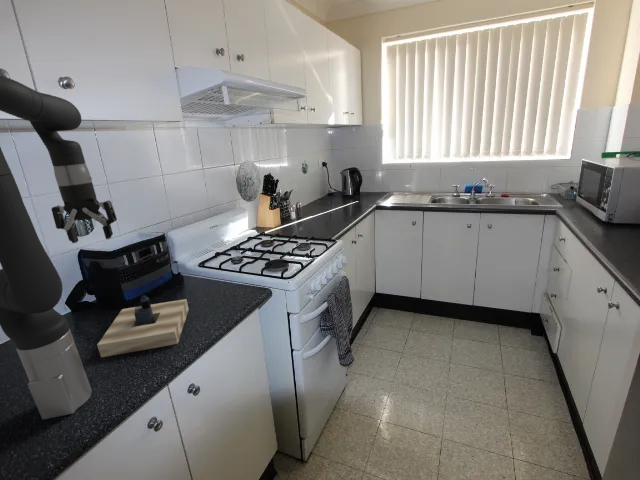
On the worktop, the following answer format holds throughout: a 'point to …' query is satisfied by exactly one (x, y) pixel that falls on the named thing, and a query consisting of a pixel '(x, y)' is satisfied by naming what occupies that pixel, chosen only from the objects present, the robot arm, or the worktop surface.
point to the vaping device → (144, 312)
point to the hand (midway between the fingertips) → (92, 240)
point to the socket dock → (144, 329)
